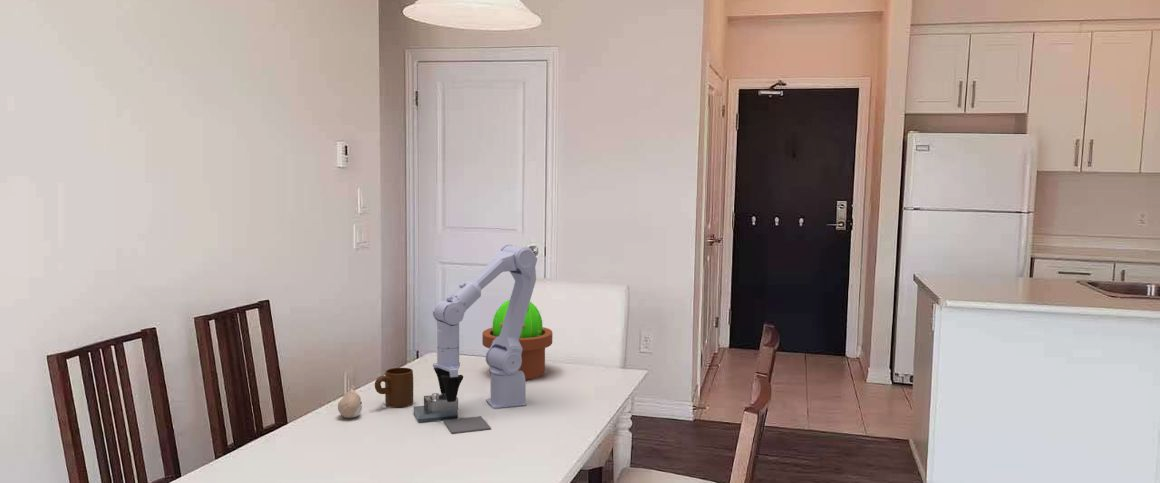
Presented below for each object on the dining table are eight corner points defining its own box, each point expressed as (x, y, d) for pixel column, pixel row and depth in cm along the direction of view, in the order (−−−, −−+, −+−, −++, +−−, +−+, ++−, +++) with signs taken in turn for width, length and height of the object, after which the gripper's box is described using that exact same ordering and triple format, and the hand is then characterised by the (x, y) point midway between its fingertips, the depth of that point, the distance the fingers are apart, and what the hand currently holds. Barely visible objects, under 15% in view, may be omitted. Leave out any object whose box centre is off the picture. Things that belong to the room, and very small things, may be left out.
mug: (385, 414, 210) (384, 379, 209) (366, 408, 215) (366, 374, 214) (419, 403, 220) (419, 370, 219) (400, 398, 224) (400, 365, 223)
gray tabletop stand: (453, 403, 213) (453, 393, 212) (458, 409, 208) (458, 398, 207) (423, 407, 210) (423, 395, 209) (427, 412, 205) (427, 401, 204)
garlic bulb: (368, 415, 208) (367, 386, 208) (350, 422, 203) (350, 392, 202) (349, 411, 211) (349, 382, 211) (331, 418, 206) (331, 388, 205)
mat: (481, 417, 208) (481, 416, 208) (491, 429, 199) (491, 427, 198) (443, 421, 204) (443, 420, 204) (451, 433, 195) (451, 432, 195)
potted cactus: (492, 364, 264) (492, 289, 262) (557, 367, 261) (557, 292, 259) (474, 381, 243) (474, 300, 240) (545, 384, 240) (545, 303, 237)
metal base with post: (450, 410, 214) (450, 388, 213) (457, 418, 206) (457, 396, 206) (413, 413, 210) (413, 391, 210) (419, 423, 203) (418, 400, 202)
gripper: (427, 342, 213) (427, 391, 214) (438, 353, 200) (438, 406, 201) (453, 340, 216) (453, 389, 217) (466, 351, 202) (466, 403, 204)
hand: (448, 397), depth 209 cm, fingers open, 7 cm apart
